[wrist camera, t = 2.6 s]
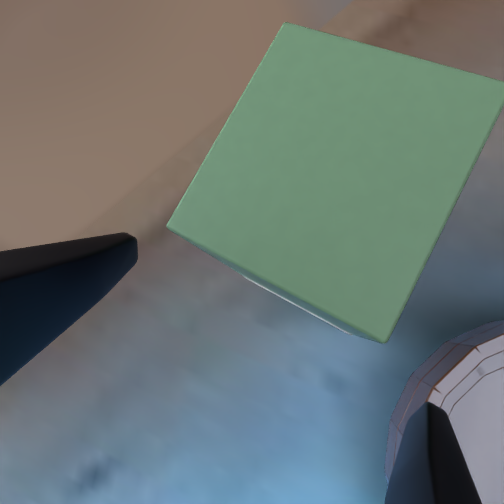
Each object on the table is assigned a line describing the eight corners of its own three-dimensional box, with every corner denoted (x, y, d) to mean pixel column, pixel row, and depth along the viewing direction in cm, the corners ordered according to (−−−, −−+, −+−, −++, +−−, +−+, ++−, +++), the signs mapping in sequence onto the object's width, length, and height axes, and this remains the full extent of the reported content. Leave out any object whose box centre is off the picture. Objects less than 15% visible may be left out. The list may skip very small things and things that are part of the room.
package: (345, 333, 19) (387, 348, 6) (261, 287, 20) (162, 227, 8) (392, 239, 19) (518, 81, 7) (307, 202, 21) (283, 18, 8)
